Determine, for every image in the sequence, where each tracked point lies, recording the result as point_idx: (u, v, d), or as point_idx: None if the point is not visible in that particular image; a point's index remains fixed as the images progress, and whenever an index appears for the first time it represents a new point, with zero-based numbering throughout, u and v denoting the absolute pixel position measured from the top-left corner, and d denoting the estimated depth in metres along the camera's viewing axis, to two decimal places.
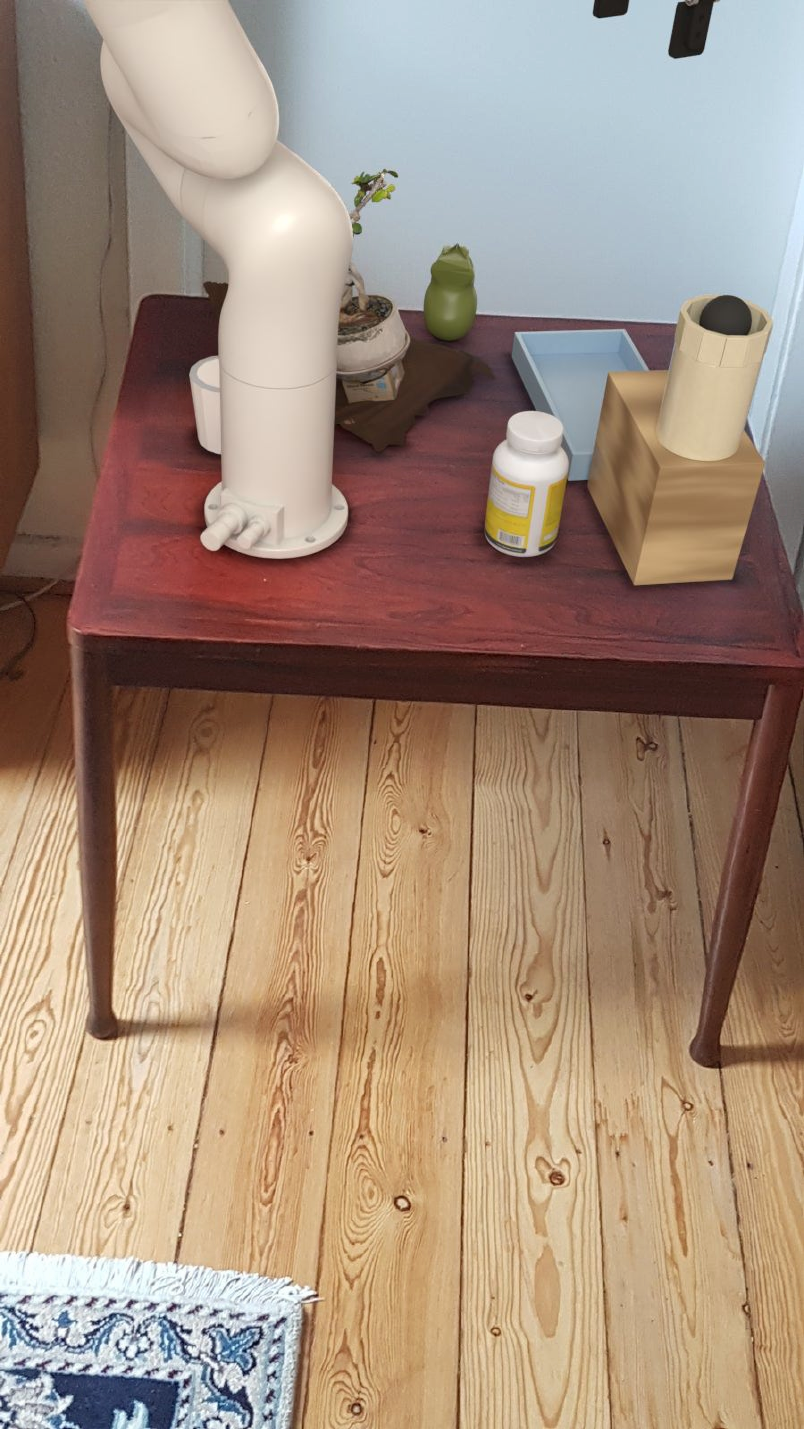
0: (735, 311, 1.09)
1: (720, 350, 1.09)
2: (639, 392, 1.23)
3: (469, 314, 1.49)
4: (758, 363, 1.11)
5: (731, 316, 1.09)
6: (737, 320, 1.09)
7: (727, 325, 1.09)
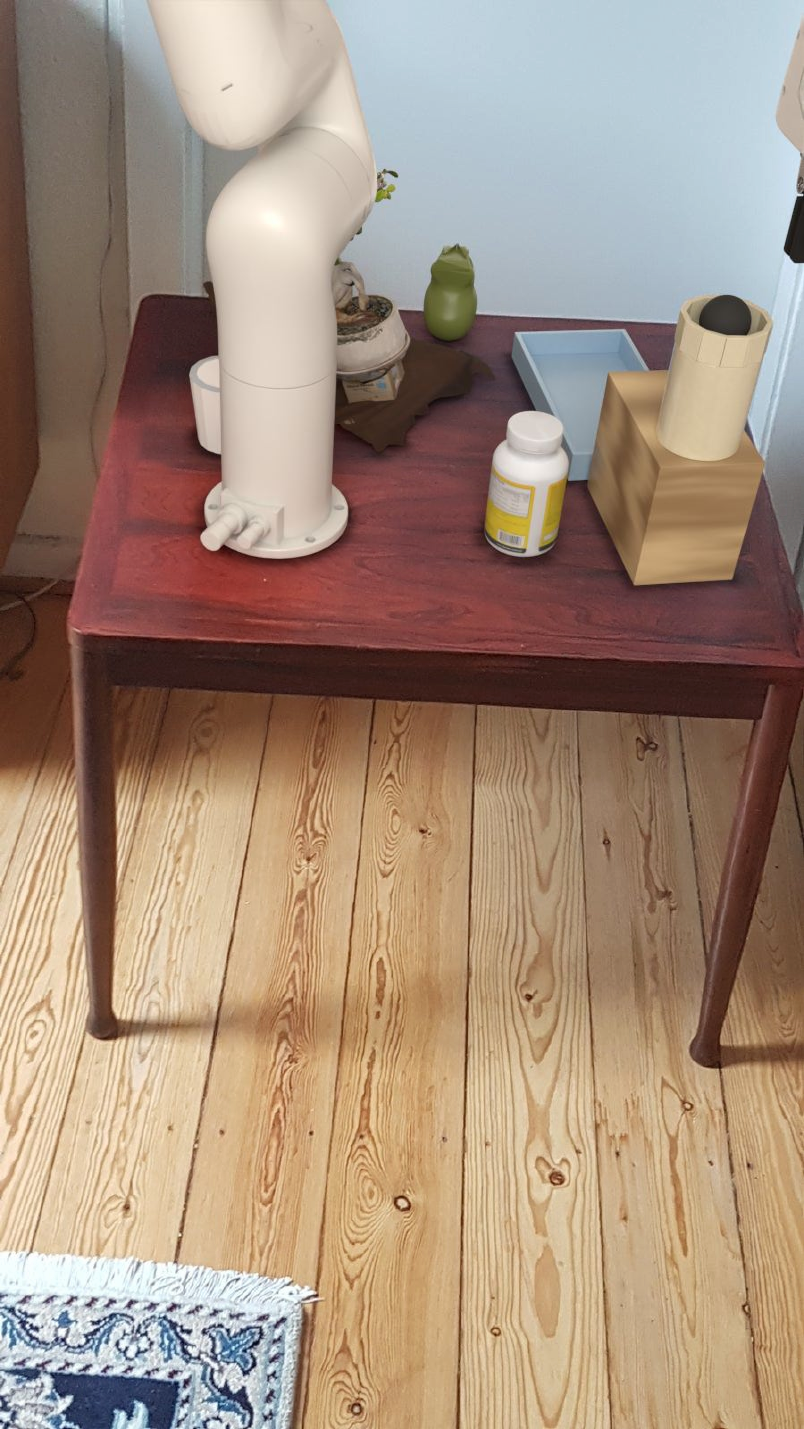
0: (734, 310, 1.09)
1: (720, 350, 1.09)
2: (639, 392, 1.23)
3: (469, 314, 1.49)
4: (758, 363, 1.11)
5: (730, 315, 1.09)
6: (737, 319, 1.09)
7: (727, 324, 1.09)
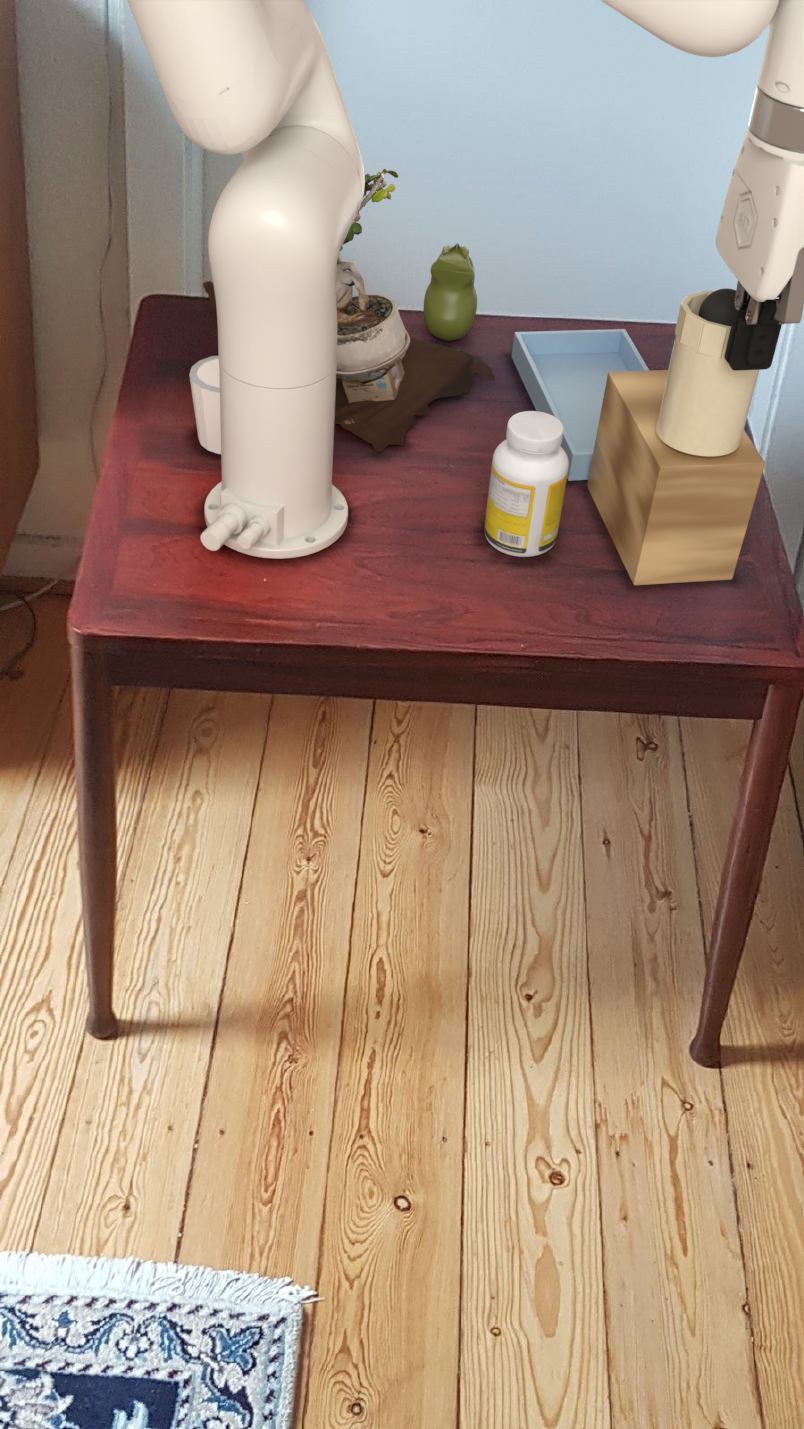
0: (733, 303, 1.10)
1: (721, 341, 1.09)
2: (639, 392, 1.23)
3: (469, 314, 1.49)
4: None
5: (729, 308, 1.10)
6: (736, 311, 1.10)
7: (726, 317, 1.10)
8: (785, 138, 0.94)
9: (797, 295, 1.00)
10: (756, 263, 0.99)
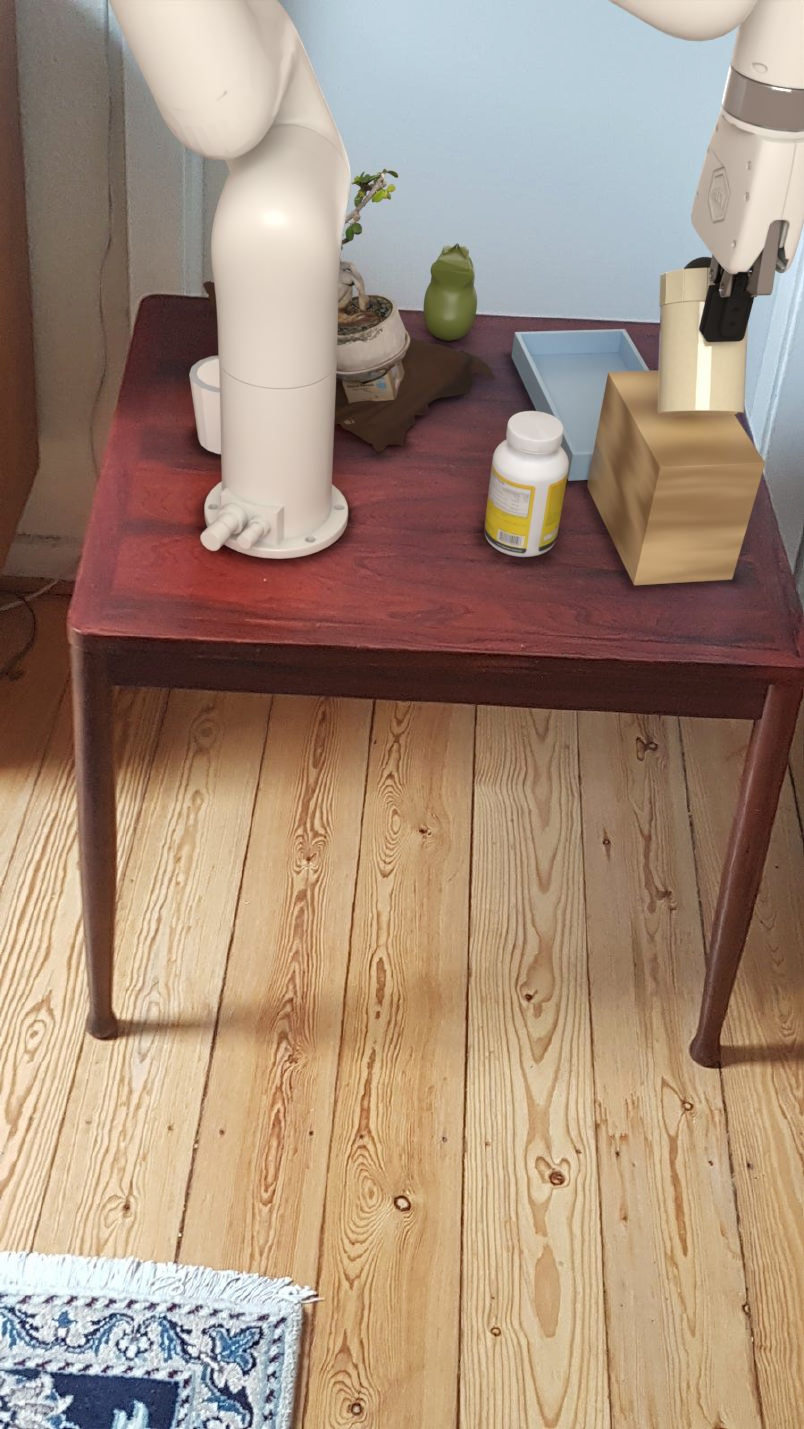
0: (709, 257, 1.16)
1: (704, 282, 1.13)
2: (639, 392, 1.23)
3: (469, 314, 1.49)
4: None
5: (706, 257, 1.16)
6: None
7: (705, 261, 1.15)
8: (756, 115, 0.98)
9: (768, 268, 1.03)
10: (729, 236, 1.03)
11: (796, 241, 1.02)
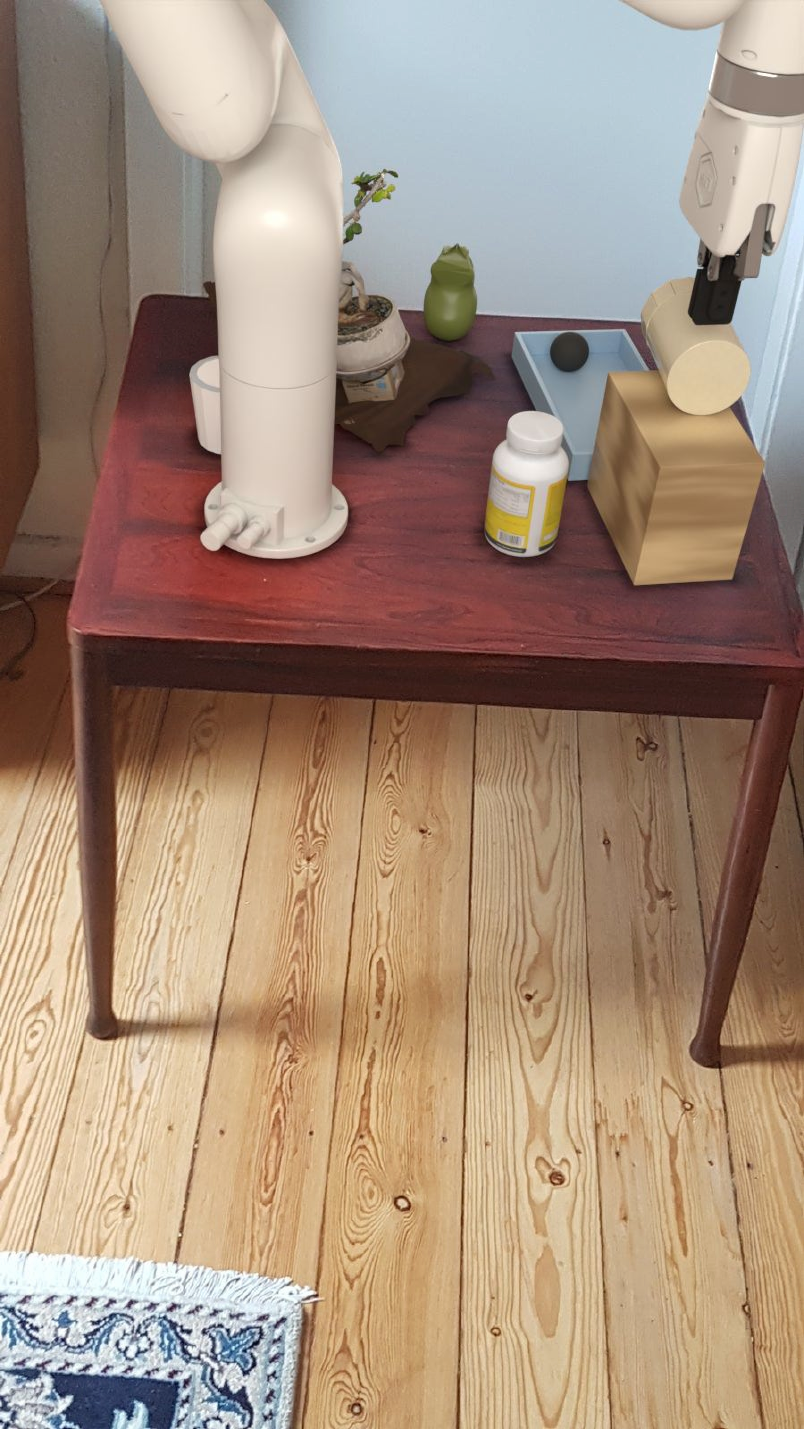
0: (578, 364, 1.46)
1: (690, 282, 1.23)
2: (639, 392, 1.23)
3: (469, 314, 1.49)
4: None
5: (574, 366, 1.46)
6: (576, 368, 1.47)
7: (568, 369, 1.47)
8: (743, 100, 1.00)
9: (755, 251, 1.05)
10: (716, 220, 1.05)
11: (782, 224, 1.04)
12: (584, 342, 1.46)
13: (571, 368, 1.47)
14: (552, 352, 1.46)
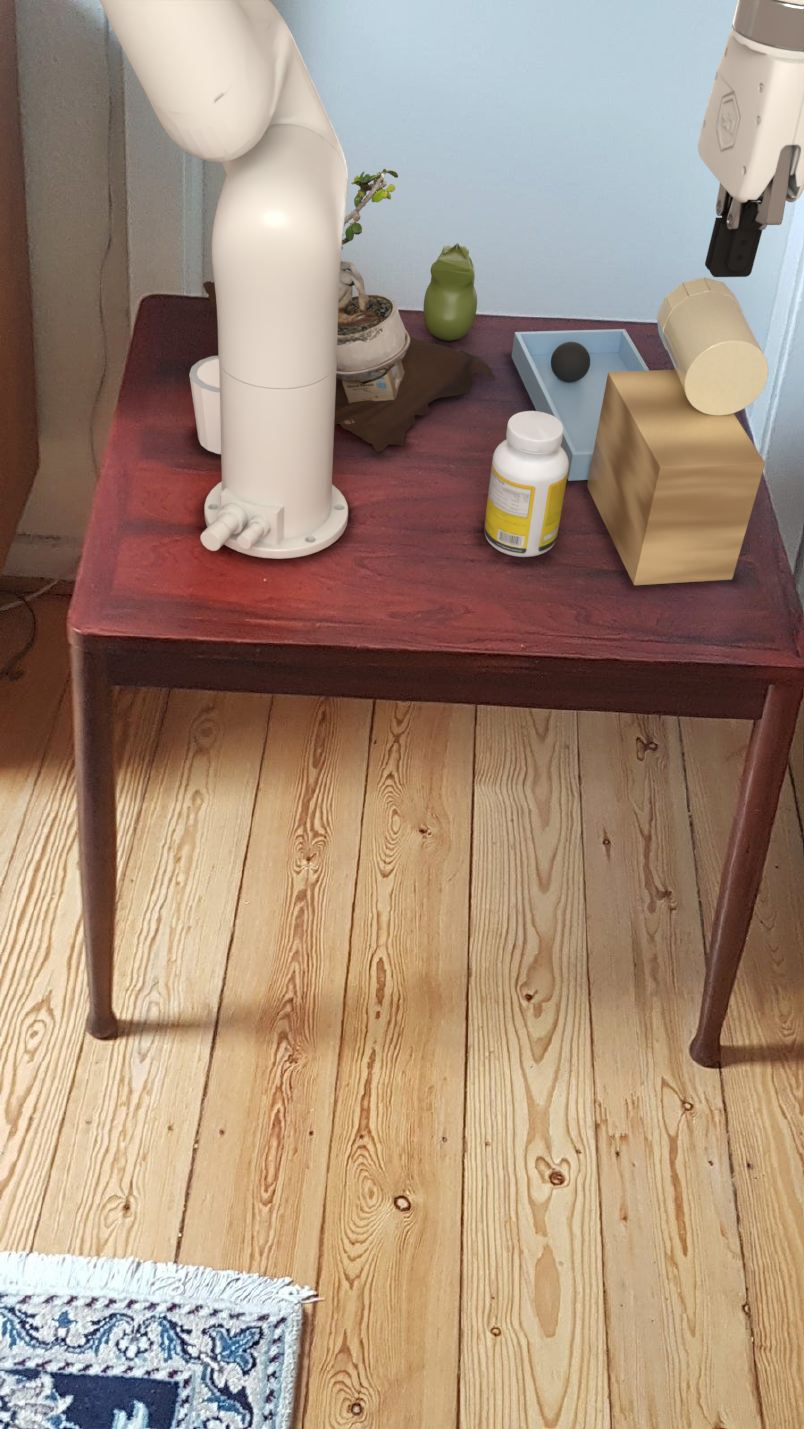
0: None
1: (723, 287, 1.24)
2: (639, 392, 1.23)
3: (469, 314, 1.49)
4: None
5: None
6: None
7: None
8: (769, 34, 0.95)
9: (778, 196, 1.01)
10: (739, 163, 1.00)
11: None
12: (584, 367, 1.44)
13: None
14: (552, 367, 1.46)
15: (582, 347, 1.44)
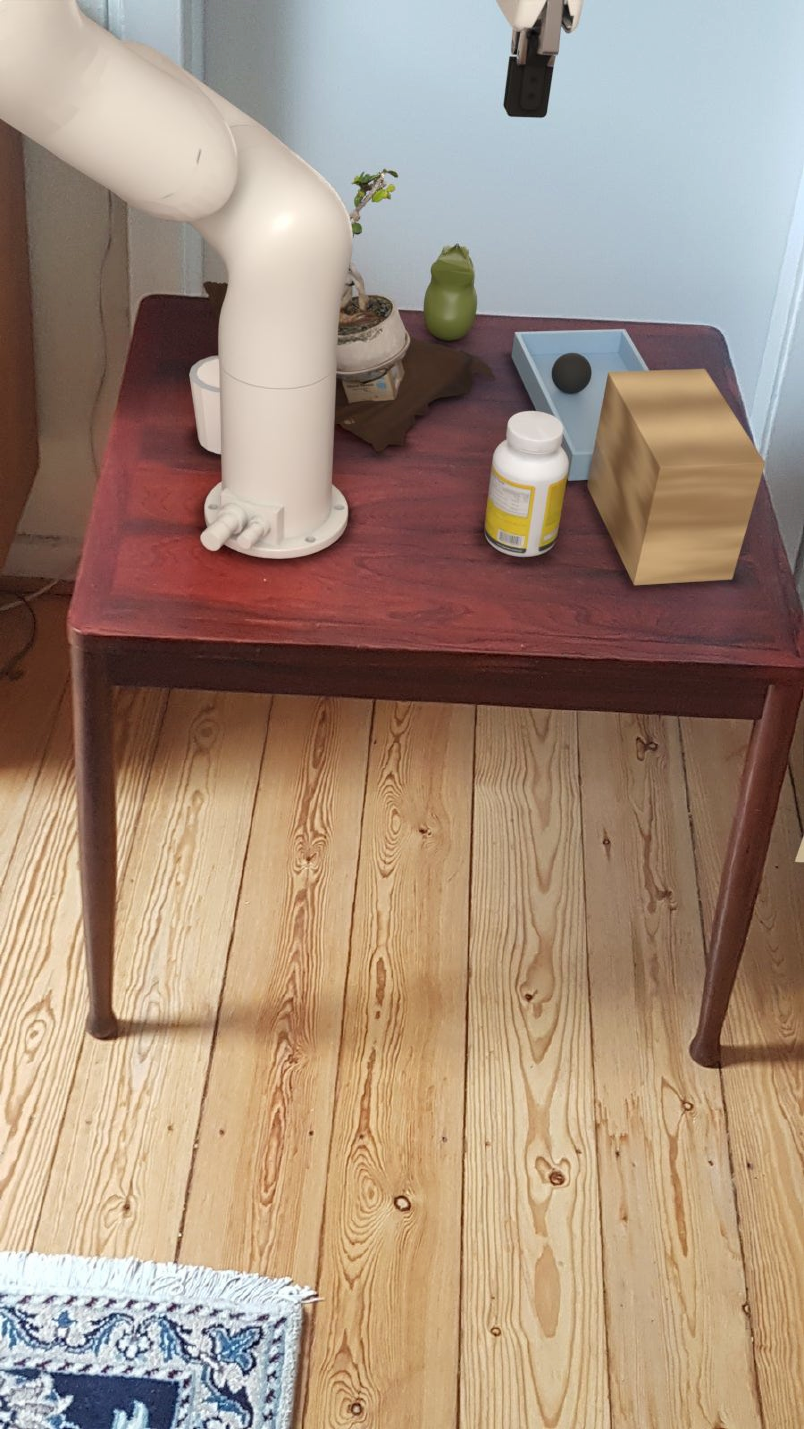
0: None
1: None
2: (639, 392, 1.23)
3: (469, 314, 1.49)
4: None
5: None
6: None
7: None
8: None
9: (553, 24, 1.04)
10: None
11: None
12: None
13: None
14: None
15: (583, 375, 1.42)
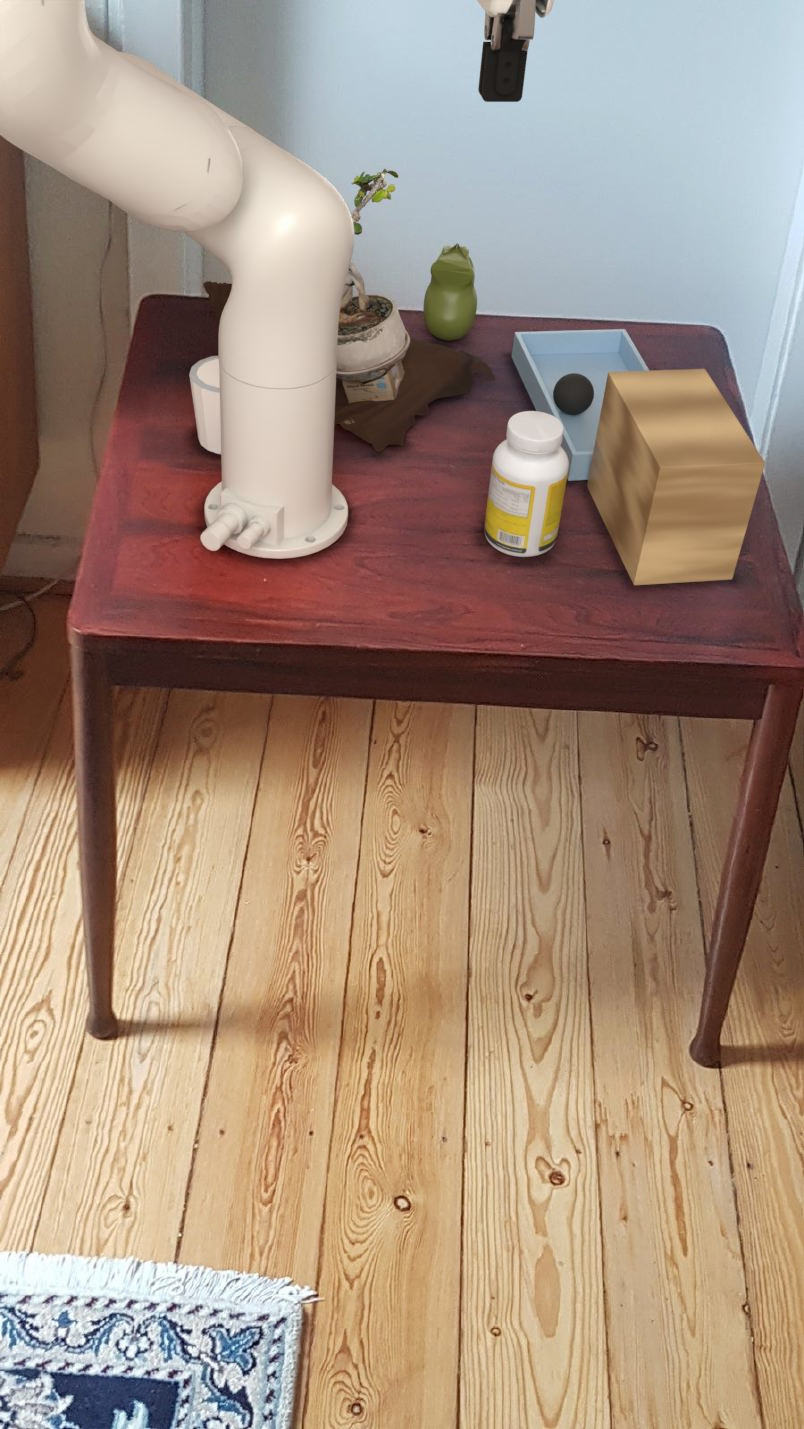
0: (585, 377, 1.40)
1: None
2: (639, 392, 1.23)
3: (469, 314, 1.49)
4: None
5: (581, 375, 1.40)
6: (584, 379, 1.40)
7: (576, 376, 1.40)
8: None
9: (528, 9, 1.05)
10: None
11: None
12: None
13: (579, 376, 1.40)
14: (555, 385, 1.41)
15: None
